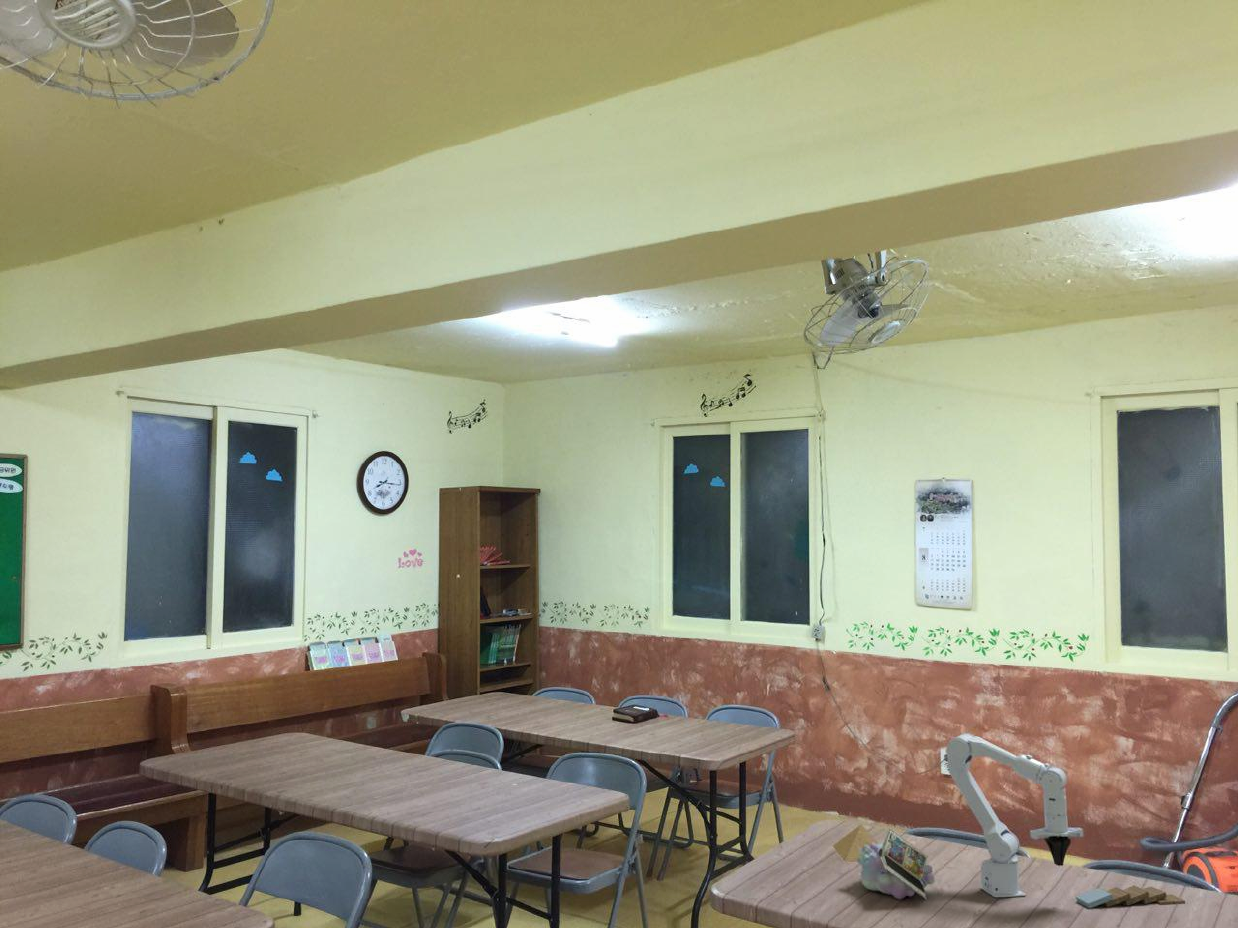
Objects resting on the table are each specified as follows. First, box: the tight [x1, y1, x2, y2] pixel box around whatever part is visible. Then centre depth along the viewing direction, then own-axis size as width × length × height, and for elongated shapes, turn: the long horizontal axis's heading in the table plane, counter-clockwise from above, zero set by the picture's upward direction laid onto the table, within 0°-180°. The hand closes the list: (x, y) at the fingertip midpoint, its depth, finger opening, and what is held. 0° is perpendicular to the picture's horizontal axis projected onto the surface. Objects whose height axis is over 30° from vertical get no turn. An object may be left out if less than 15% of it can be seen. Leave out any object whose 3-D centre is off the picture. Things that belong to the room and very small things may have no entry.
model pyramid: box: [832, 824, 879, 862], centre depth 302 cm, size 17×17×10 cm
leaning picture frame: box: [857, 827, 936, 901], centre depth 271 cm, size 20×22×18 cm
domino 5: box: [1153, 893, 1186, 906], centre depth 264 cm, size 1×5×8 cm
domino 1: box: [1075, 887, 1113, 909], centre depth 261 cm, size 1×5×8 cm
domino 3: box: [1120, 885, 1149, 907], centre depth 263 cm, size 1×5×8 cm
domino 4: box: [1138, 886, 1167, 905], centre depth 265 cm, size 1×5×8 cm
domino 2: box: [1101, 886, 1131, 908], centre depth 262 cm, size 1×5×8 cm
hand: (1058, 864), depth 262 cm, fingers closed
